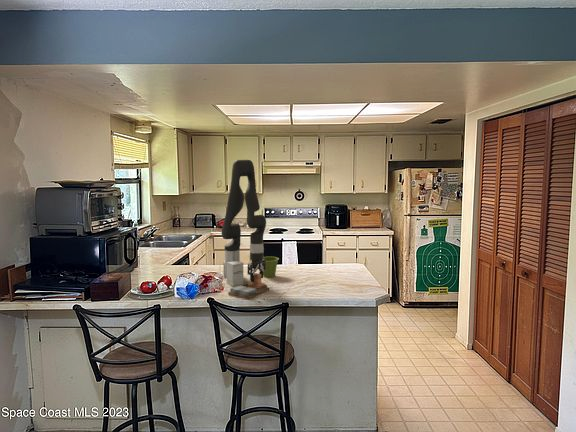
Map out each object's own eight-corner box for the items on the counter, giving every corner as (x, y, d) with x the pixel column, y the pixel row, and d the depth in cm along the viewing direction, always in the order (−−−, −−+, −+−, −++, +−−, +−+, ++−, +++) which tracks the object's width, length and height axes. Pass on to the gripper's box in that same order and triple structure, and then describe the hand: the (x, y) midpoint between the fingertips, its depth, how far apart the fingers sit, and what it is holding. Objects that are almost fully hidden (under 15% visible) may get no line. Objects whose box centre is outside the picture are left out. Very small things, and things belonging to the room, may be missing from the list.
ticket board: (228, 294, 212) (228, 288, 211) (248, 286, 227) (248, 280, 227) (249, 299, 205) (249, 292, 204) (269, 290, 220) (269, 283, 220)
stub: (247, 286, 222) (247, 274, 221) (251, 284, 226) (251, 272, 225) (261, 288, 218) (260, 276, 217) (265, 286, 221) (265, 274, 220)
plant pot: (256, 277, 247) (256, 259, 245) (266, 273, 257) (266, 255, 256) (272, 279, 241) (272, 261, 240) (282, 275, 252) (282, 257, 250)
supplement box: (232, 286, 228) (232, 264, 226) (226, 283, 234) (226, 262, 232) (243, 284, 232) (243, 262, 231) (237, 281, 238) (237, 260, 236)
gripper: (258, 248, 228) (258, 276, 230) (243, 252, 216) (243, 282, 217) (269, 249, 224) (269, 277, 226) (254, 254, 212) (254, 284, 214)
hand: (256, 279), depth 222 cm, fingers open, 8 cm apart
